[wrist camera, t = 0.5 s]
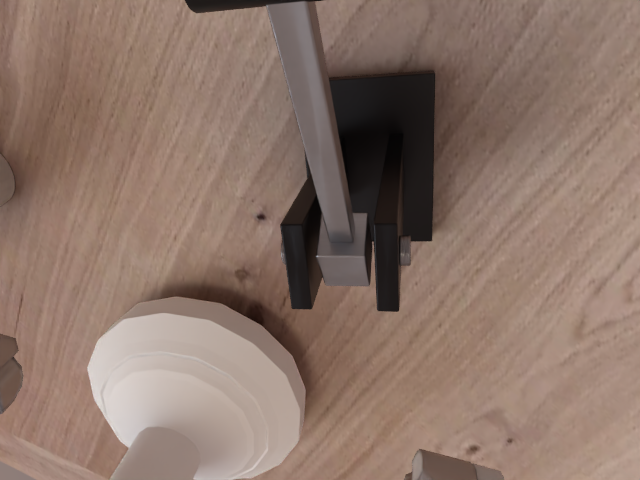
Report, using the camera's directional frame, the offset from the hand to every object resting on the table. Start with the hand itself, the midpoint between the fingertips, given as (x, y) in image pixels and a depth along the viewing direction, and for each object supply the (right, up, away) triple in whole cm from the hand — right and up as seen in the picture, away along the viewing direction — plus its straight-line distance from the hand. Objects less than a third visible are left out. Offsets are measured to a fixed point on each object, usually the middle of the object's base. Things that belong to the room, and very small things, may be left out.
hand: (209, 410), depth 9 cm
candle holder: (-8, -9, +38) cm, 39 cm away
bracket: (+6, +9, +25) cm, 28 cm away
